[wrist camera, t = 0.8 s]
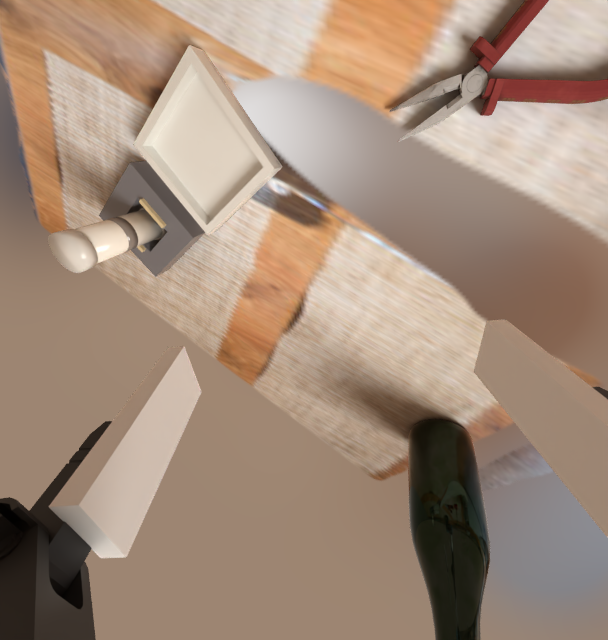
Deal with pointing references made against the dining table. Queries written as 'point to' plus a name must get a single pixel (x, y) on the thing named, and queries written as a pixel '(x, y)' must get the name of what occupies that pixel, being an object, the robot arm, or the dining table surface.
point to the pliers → (504, 88)
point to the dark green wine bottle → (448, 525)
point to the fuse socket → (154, 215)
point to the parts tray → (205, 143)
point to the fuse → (103, 240)
